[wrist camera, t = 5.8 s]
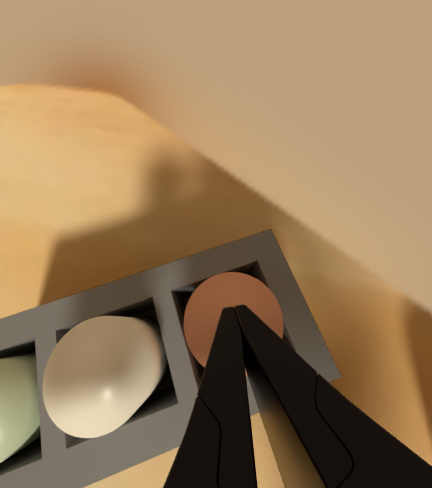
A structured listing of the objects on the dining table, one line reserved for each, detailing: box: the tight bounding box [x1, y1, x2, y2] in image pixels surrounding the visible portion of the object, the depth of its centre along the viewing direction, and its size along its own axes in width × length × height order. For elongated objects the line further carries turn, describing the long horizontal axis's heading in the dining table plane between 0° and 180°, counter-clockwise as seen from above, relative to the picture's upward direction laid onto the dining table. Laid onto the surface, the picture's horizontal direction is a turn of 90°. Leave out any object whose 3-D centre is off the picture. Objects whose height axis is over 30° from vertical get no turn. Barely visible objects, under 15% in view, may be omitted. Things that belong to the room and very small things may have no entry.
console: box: [0, 229, 341, 488], centre depth 14 cm, size 8×20×8 cm, turn 109°
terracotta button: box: [184, 272, 283, 377], centre depth 12 cm, size 4×4×4 cm
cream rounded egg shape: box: [42, 316, 170, 438], centre depth 11 cm, size 4×4×4 cm
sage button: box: [0, 353, 41, 463], centre depth 12 cm, size 4×4×4 cm
